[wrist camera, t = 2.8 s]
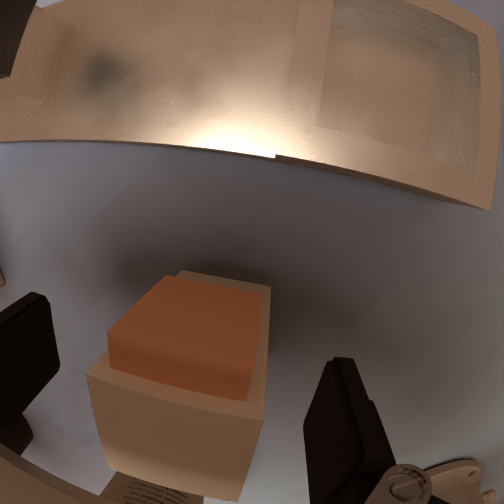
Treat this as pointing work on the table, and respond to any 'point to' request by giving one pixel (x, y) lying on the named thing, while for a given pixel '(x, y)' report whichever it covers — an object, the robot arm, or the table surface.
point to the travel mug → (17, 436)
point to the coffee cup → (145, 492)
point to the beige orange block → (185, 384)
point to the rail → (265, 84)
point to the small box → (1, 280)
